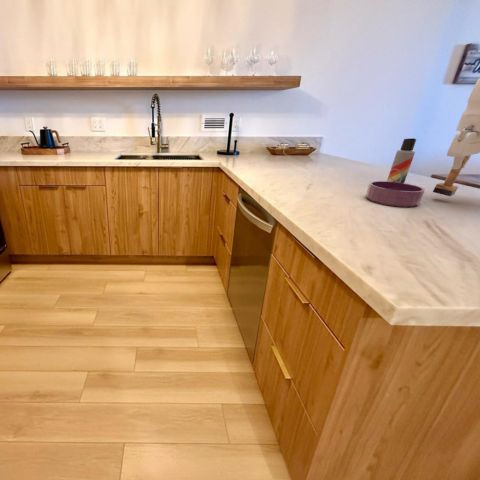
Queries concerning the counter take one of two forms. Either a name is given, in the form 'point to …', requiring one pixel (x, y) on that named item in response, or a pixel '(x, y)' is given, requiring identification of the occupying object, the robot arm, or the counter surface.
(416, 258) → the counter surface
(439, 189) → the dish brush
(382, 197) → the plum bowl
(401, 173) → the lotion bottle
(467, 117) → the robot arm
